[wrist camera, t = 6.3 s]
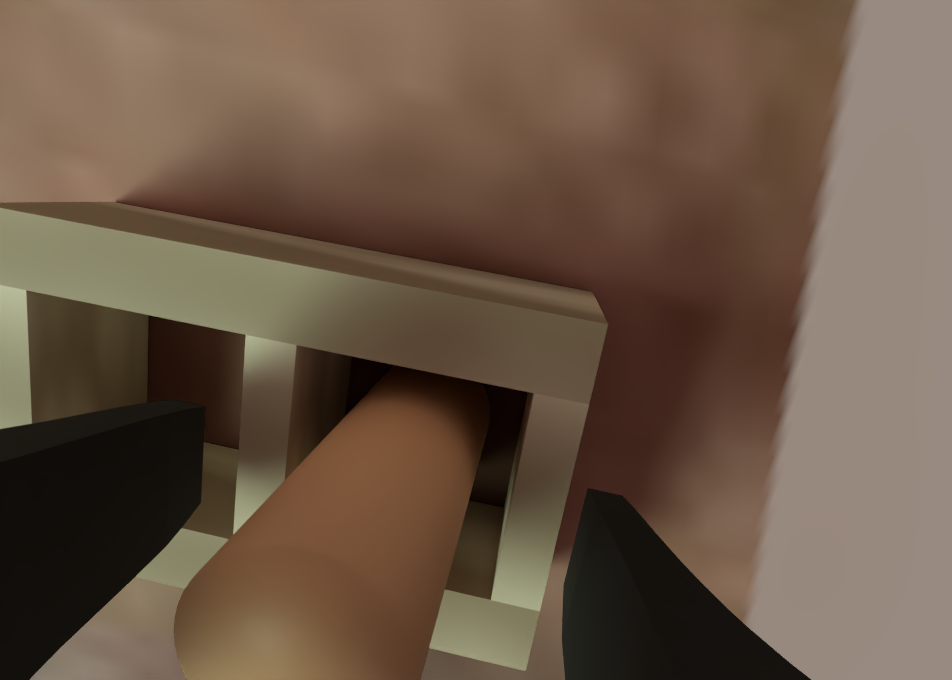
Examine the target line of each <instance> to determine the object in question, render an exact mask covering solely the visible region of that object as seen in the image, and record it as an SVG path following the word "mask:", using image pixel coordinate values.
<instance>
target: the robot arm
mask: <svg viewBox="0 0 952 680" xmlns="http://www.w3.org/2000/svg"><path fill="white" fill-rule="evenodd" d="M204 427H205V406H201V405H196V404H192V403H187V402H182V401H178V400H166V401H155V402H147V403H141V404H134V405H129V406H123V407H117V408H112V409H107V410H101V411H96V412H91V413H86V414H81V415H75V416H70V417H65V418H60V419H55V420H49V421H44V422H38V423H32V424H26V425H21V426H15V427H9V428H3V429H0V680H30V678H31V677H32V676H33V675H34V674H35V673H36V672H37V671H38V670H39V669H40V668H41V667H42V666H43V665H44V664H45V663H46V662H47V661H48V660H49V659H50V658H51V657H52V656H53V655H54V654H55V653H56V652H57V651H58V650H59V648H60V647H62V646H63V645H64V644H65V643H66V642H67V641H68V640H69V639H70V638H71V637H72V636H73V635H74V634H75V633H76V632H77V631H78V630H79V629H81V628H82V627H83V626H84V625H85V624H86V623H87V622H88V621H89V620H90V619H91V618H92V617H93V616H94V615H95V614H96V613H97V612H98V611H100V610H101V609H102V608H103V607H104V606H105V605H106V604H107V603H108V602H109V601H110V600H111V599H112V598H113V597H114V596H115V595H116V594H118V593H119V592H120V591H121V590H122V589H123V588H124V587H125V586H126V585H127V584H128V583H129V582H130V581H131V580H132V579H133V578H134V577H135V576H136V575H137V574H139V573H140V572H141V571H142V570H143V569H144V568H145V567H146V566H147V565H148V564H149V563H150V562H151V561H152V560H153V559H154V558H155V557H156V556H157V555H158V554H159V553H160V552H161V551H162V550H163V549H164V548H165V547H166V546H167V545H168V544H169V543H170V541H171V540H172V539H173V538H174V537H175V535H176V534H177V533H178V532H179V531H180V529H181V528H182V527H183V526H184V524H185V523H186V522H187V520H188V519H189V518H190V517H191V515H192V514H193V513H194V511H195V510H196V509H197V507H198V506H199V505H200V503H201V493H202V471H203V449H204ZM562 646H563V658H564V669H565V680H811V679H810V678H808V677H807V676H806V675H805V674H803V673H802V672H801V671H799V670H798V669H797V668H796V667H794V666H793V665H792V664H790V663H789V662H788V661H787V660H786V659H784V658H783V657H782V656H781V655H780V654H779V653H777V652H776V651H775V650H774V649H773V648H772V647H770V646H769V645H768V644H767V643H766V642H764V641H763V640H762V639H761V638H760V637H759V636H757V635H756V634H755V633H754V632H753V631H751V630H750V629H749V628H748V627H747V626H746V625H745V624H744V623H743V622H741V621H740V620H739V619H738V618H737V617H736V616H735V615H734V614H733V613H732V612H731V611H729V610H728V609H727V608H726V607H725V606H724V605H723V604H722V603H721V602H720V601H719V600H718V599H717V598H716V597H715V596H714V595H713V594H712V593H711V592H710V591H709V590H708V589H707V588H706V587H705V586H704V585H703V584H702V583H701V582H700V581H699V580H698V579H697V578H696V577H695V576H694V575H693V574H692V573H691V572H690V571H689V569H688V568H687V567H686V566H685V565H684V564H683V563H682V562H681V561H680V560H679V559H678V558H677V556H676V555H675V554H674V553H673V552H672V551H671V550H670V549H669V548H668V547H667V545H666V544H665V543H664V542H663V541H662V540H661V539H660V537H659V536H658V535H657V534H656V533H655V532H654V531H653V529H652V528H651V527H650V526H649V525H648V524H647V522H646V521H645V520H644V519H643V518H642V517H641V515H640V514H639V513H638V512H637V511H636V510H635V509H634V507H633V506H632V505H631V504H630V503H629V502H628V501H627V500H626V499H625V498H624V497H623V496H621V495H616V494H612V493H607V492H602V491H598V490H593V489H588V490H587V494H586V498H585V502H584V506H583V510H582V514H581V518H580V522H579V526H578V530H577V534H576V538H575V542H574V546H573V550H572V554H571V558H570V562H569V566H568V570H567V574H566V578H565V582H564V590H563V617H562Z"/></svg>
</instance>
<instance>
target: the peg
mask: <svg viewBox="0 0 952 680" xmlns="http://www.w3.org/2000/svg"><path fill="white" fill-rule="evenodd" d="M489 423H490V404H489V399H488V396H487V393H486V391H485V389H484V387H483V385H482V383H481V382H476V381H471V380H466V379H461V378H456V377H451V376H446V375H441V374H437V373H432V372H427V371H422V370H417V369H412V368H407V367H402V366H397V365H394V366H393V367H392V368H391V369H390V370H389V371H388V372H387V373H386V374H385V375H384V376H383V377H382V378H381V379H380V380H379V381H378V382H377V383H376V384H375V385H374V387H373V388H372V389H371V390H370V391H369V392H368V393H367V394H366V395H365V396H364V397H363V398H362V399H361V400H360V401H359V402H358V403H357V405H356V406H355V407H354V408H353V409H352V410H351V411H350V412H349V413H348V414H347V415H346V416H345V417H344V418H343V419H342V420H341V421H340V422H339V424H338V425H337V426H336V427H335V428H334V429H333V430H332V431H331V432H330V433H329V434H328V435H327V436H326V437H325V438H324V439H323V440H322V442H321V443H320V444H319V445H318V446H317V447H316V448H315V449H314V450H313V451H312V452H311V453H310V454H309V455H308V456H307V457H306V458H305V459H304V461H303V462H302V463H301V464H300V465H299V466H298V467H297V468H296V469H295V470H294V471H293V472H292V473H291V474H290V475H289V476H288V477H287V479H286V480H285V481H284V482H283V483H282V484H281V485H280V486H279V487H278V488H277V489H276V490H275V491H274V492H273V493H272V494H271V495H270V496H269V498H268V499H267V500H266V501H265V502H264V503H263V504H262V505H261V506H260V507H259V508H258V509H257V510H256V511H255V512H254V513H253V514H252V516H251V517H250V518H249V519H248V520H247V521H246V522H245V523H244V524H243V525H242V526H241V527H240V528H239V529H238V530H237V531H236V532H235V533H234V535H233V536H232V537H231V538H230V539H229V540H228V541H227V542H226V543H225V544H224V545H223V546H222V547H221V548H220V549H219V550H218V551H217V553H216V554H215V555H214V556H213V557H212V558H211V559H210V560H209V561H208V562H207V563H206V564H205V565H204V566H203V567H202V568H201V569H200V570H199V572H198V573H197V574H196V575H195V576H194V577H193V578H192V579H191V581H190V582H189V584H188V585H187V587H186V588H185V590H184V591H183V594H182V596H181V598H180V601H179V603H178V606H177V611H176V615H175V623H174V639H175V647H176V652H177V656H178V660H179V663H180V665H181V668H182V671H183V673H184V675H185V677H186V679H187V680H421V676H422V672H423V669H424V665H425V661H426V658H427V654H428V650H429V646H430V643H431V639H432V635H433V632H434V628H435V624H436V620H437V617H438V613H439V609H440V606H441V602H442V598H443V594H444V591H445V587H446V583H447V580H448V576H449V572H450V568H451V565H452V561H453V557H454V554H455V550H456V546H457V542H458V539H459V535H460V531H461V528H462V524H463V520H464V516H465V513H466V509H467V505H468V502H469V498H470V494H471V490H472V487H473V483H474V479H475V476H476V472H477V468H478V464H479V461H480V457H481V453H482V450H483V446H484V442H485V438H486V435H487V431H488V427H489Z"/></svg>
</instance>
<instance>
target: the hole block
mask: <svg viewBox="0 0 952 680" xmlns="http://www.w3.org/2000/svg"><path fill="white" fill-rule="evenodd" d="M149 315H151V316H155V317H160V318H165V319H170V320H175V321H180V322H185V323H190V324H195V325H200V326H205V327H210V328H215V329H220V330H225V331H229V332H234V333H239V334H244V335H246V339H245V355H244V371H243V387H242V403H241V418H240V434H239V450H237V449H233V448H228V447H224V446H219V445H215V444H210V443H206V442H204V449H203V471H202V493H201V503H200V505H199V506H198V507H197V509H196V510H195V511H194V513H193V514H192V515H191V517H190V518H189V519H188V520H187V522H186V523H185V524H184V526H183V527H182V528H181V529H180V531H179V532H178V533H177V534H176V535H175V537H174V538H173V539H172V540H171V541H170V543H169V544H168V545H167V546H166V547H165V548H164V549H163V550H162V551H161V552H160V553H159V554H158V555H157V556H156V557H155V558H154V559H153V560H152V561H151V562H150V563H149V564H148V565H147V566H146V567H145V568H144V569H143V570H142V571H141V572H140V573H139V574H137V575H136V576H135V577H137V578H141V579H145V580H150V581H154V582H158V583H162V584H166V585H170V586H174V587H179V588H183V589H185V588H186V587H187V585H188V584H189V582H190V581H191V579H192V578H193V577H194V576H195V575H196V574H197V573H198V572H199V570H200V569H201V568H202V567H203V566H204V565H205V564H206V563H207V562H208V561H209V560H210V559H211V558H212V557H213V556H214V555H215V554H216V553H217V551H218V550H219V549H220V548H221V547H222V546H223V545H224V544H225V543H226V542H227V541H228V540H229V539H230V538H231V537H232V536H233V535H234V533H235V532H236V531H237V530H238V529H239V528H240V527H241V526H242V525H243V524H244V523H245V522H246V521H247V520H248V519H249V518H250V517H251V516H252V514H253V513H254V512H255V511H256V510H257V509H258V508H259V507H260V506H261V505H262V504H263V503H264V502H265V501H266V500H267V499H268V498H269V496H270V495H271V494H272V493H273V492H274V491H275V490H276V489H277V488H278V487H279V486H280V485H281V484H282V483H283V482H284V481H285V480H286V479H287V477H288V476H289V475H290V474H291V473H292V472H293V471H294V470H295V469H296V468H297V467H298V466H299V465H300V464H301V463H302V462H303V461H304V459H305V458H306V457H307V456H308V455H309V454H310V453H311V452H312V451H313V450H314V449H315V448H316V447H317V446H318V445H319V444H320V443H321V442H322V440H323V439H324V438H325V437H326V436H327V435H328V434H329V433H330V432H331V431H332V430H333V429H334V428H335V427H336V426H337V425H338V424H339V422H340V421H341V420H342V419H343V418H344V417H345V413H346V404H347V396H348V387H349V378H350V370H351V361H352V356H353V357H358V358H363V359H367V360H372V361H377V362H382V363H387V364H392V365H397V366H402V367H407V368H412V369H417V370H422V371H427V372H432V373H437V374H441V375H446V376H451V377H456V378H461V379H466V380H471V381H476V382H481V383H486V384H491V385H496V386H501V387H506V388H510V389H515V390H520V391H525V392H528V393H527V398H526V402H525V407H524V412H523V417H522V422H521V427H520V432H519V436H518V441H517V446H516V451H515V456H514V461H513V465H512V470H511V475H510V480H509V485H508V490H507V494H506V499H505V504H504V508H502V507H497V506H493V505H488V504H484V503H479V502H475V501H470V500H469V502H468V505H467V509H466V513H465V516H464V520H463V524H462V528H461V531H460V535H459V539H458V542H457V546H456V550H455V554H454V557H453V561H452V565H451V568H450V572H449V576H448V580H447V583H446V587H445V591H444V594H443V598H442V602H441V606H440V609H439V613H438V617H437V620H436V624H435V628H434V632H433V635H432V639H431V643H430V646H429V648H432V649H436V650H440V651H444V652H448V653H452V654H457V655H461V656H465V657H469V658H473V659H477V660H481V661H486V662H490V663H494V664H498V665H502V666H506V667H511V668H515V669H519V670H523V671H526V667H527V663H528V659H529V654H530V650H531V646H532V642H533V638H534V633H535V629H536V625H537V621H538V617H539V613H540V608H541V604H542V600H543V596H544V592H545V587H546V583H547V579H548V575H549V571H550V566H551V562H552V558H553V554H554V550H555V546H556V541H557V537H558V533H559V529H560V525H561V520H562V516H563V512H564V508H565V504H566V499H567V495H568V491H569V487H570V483H571V479H572V474H573V470H574V466H575V462H576V458H577V453H578V449H579V445H580V441H581V437H582V432H583V428H584V424H585V420H586V416H587V412H588V407H589V403H590V399H591V395H592V391H593V386H594V382H595V378H596V374H597V370H598V366H599V361H600V357H601V353H602V349H603V345H604V340H605V336H606V332H607V328H608V323H607V321H606V319H605V316H604V314H603V312H602V310H601V308H600V306H599V304H598V302H597V300H596V298H595V296H594V294H593V292H591V291H585V290H580V289H575V288H569V287H564V286H559V285H553V284H548V283H543V282H537V281H532V280H527V279H521V278H516V277H511V276H505V275H500V274H494V273H489V272H484V271H478V270H473V269H468V268H462V267H457V266H452V265H446V264H441V263H436V262H430V261H425V260H420V259H414V258H409V257H404V256H398V255H393V254H388V253H382V252H377V251H372V250H366V249H361V248H356V247H350V246H345V245H340V244H334V243H329V242H324V241H318V240H313V239H308V238H302V237H297V236H292V235H286V234H281V233H276V232H270V231H265V230H260V229H254V228H249V227H244V226H238V225H233V224H228V223H222V222H217V221H212V220H206V219H201V218H196V217H190V216H185V215H180V214H174V213H169V212H164V211H158V210H153V209H148V208H142V207H137V206H132V205H126V204H121V203H116V202H30V203H0V429H3V428H9V427H15V426H21V425H26V424H32V423H38V422H44V421H49V420H55V419H60V418H65V417H70V416H75V415H81V414H86V413H91V412H96V411H101V410H107V409H112V408H117V407H123V406H129V405H134V404H141V403H147V383H148V320H149Z"/></svg>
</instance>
